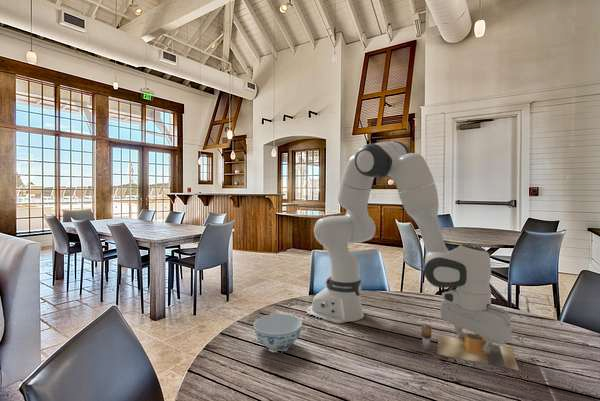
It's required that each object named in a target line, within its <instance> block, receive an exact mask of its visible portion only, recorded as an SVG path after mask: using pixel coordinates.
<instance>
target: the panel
mask: <svg viewBox="0 0 600 401" xmlns="http://www.w3.org/2000/svg"><path fill="white" fill-rule="evenodd" d="M437 340H438V341H437V348H436V355H440V356H446V357H449V358H450V357H451V358H456V359H460V360H465V361H471V362H477V363H481V364H484V365H485V364H486V365H491V366H495V367H499V368H506V369H511V370H517V371H520V369H519V366H518V363H517V360H516V358H515V354H514V352H513V349H512V347H507V346H502V345H496V344H491V349H490V354H480V353H468V352H467V350H466V349H465V348H464V346H463V342H462V341H459V340H458V337H456V338H455V337H452V336H451V337H450V336H446V335H445V336H444V335H441V334H440V335H438V339H437Z"/></svg>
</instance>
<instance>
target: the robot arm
mask: <svg viewBox="0 0 600 401" xmlns="http://www.w3.org/2000/svg"><path fill="white" fill-rule="evenodd" d="M387 176H389V177H391V178H392V179H393V181H394V182H395V186H396V189H397V192H398V197H399V200H400V201H401V204H402V206H403V208H404V210H405V212H406V214H407V215H408V216H409V217H410V218H411V219H413V220H414V222H415V223H416V225H417V226H418V228H419V233H420V236H421V240H422V242H423V245H424V249H425V253H424V254H425V256H424V261H423V263H424V266H423V268H424V269H423V270H424V272H423V273H424V276H425V278H426V281H428V283H429V284H431V285H432V286H434V287H436V288H442V289H444V288H445V289H446V288H447V289H448V288H456V289H452V290H448V291H444V292H442V293H441V298H442V301H441V303H440V317H441V319H442V321H444V322H446V323H448V324H451V325H454V330H455V332H456V334H457V339H458V340H459V341H462V342H463V338H464V331H463V330H465V331H468V332H471V333H472V334H478V335H481V336H483V337H485V341H487V342H486V343H484V344H482V345H481V350H482V351H484V352H486V353H487V352H489V351H490V345H493V342H496V343H498V344H500V345H505V344H508V343H510V342H511V341H512V340H513V339H512V338H513V337H512V336H513V334H512V333H513V332H512V327H511V326H512V325H511V321H512V320H511V318H512V317H511V314H509V312H508V311H507V310H506V309H505V308H502V307H497V306H495V305H492V288H491V285H490V282H491V279H492V264H491V263H492V262H491V256H490V253H489V252H488V251H487V250H486V249H485V248H484V247H481V246H479V245H475V244H470V243H462V244H460V245H458V246H457V247H455V248H453V249H449V248H448V247H447V245H446V243H445V241H444V238H443V233H442V231H441V228H440V223H439V219H438V218H439V215H438V214H439V204H440V203H439V194H438V190H437V189H438V188H437V186H436V183H435V180H434V177H433V174H432V172H431V169H430V167H429V166H428V163H427V161H426V160H425V158H424V157H423V156H422V155H421V154H420V153H416V152H415V153H414V152H411V150H410V148H409V147H408V146H407V145H406V144H405V143H403V142H400V141H396V140H395V141H387V140H386V141H381V142H375V143H368V144H365V145H363V146H361V147H359V149H358V150H357V151H356V154H353V155H351V156H350V157H349V158H348V161H347V163H346V166H345V168H344V172H343V174H342V178H341V182H340V186H339V191H338V195H337V201H338V204H339V205H340V206H341V207H342V208H343V209H345V210H346V211H345V212H346V213H345V214H344V215H330V216H326V217H321V218H319V219H317V220H316V222H315V224H314V226H313V234H314V238H315V240H316V241H317V242H318V243H319V244H320V245H322V247H323V248H325V250H326V253H327V254H328V257H329V260H330V276H329V277H328V278H327V279H326V281H325V283H324V284H325V285H326V287H324V288H323V289H322V290H320V291H319V292H318V293H316V295H315V296H314V297H313V300H312V304H311V305H309V306H308V307H307V309H306V312H307V313H306V315H307V314H309V315H308V316H310V315H313V316H315V317H314V318H317V317H318V319H320V318H322V319H321V320H325V321H329V322H332V323H334V324H344V323H347V322H348V323H349V322H355V321H359V320H361V319H363V318H364V317H365V314H364V310H363V305H362V299H361V293H362V279H361V276H360V274H361V273H360V271H361V270H360V265H361V264H360V263H361V262H360V260H359V257H358V256H357V255H356V254H354V253H352V252H350V250H349V248H348V246H349V245H348V244H359V243H364V242H367V241H369V240H372V239H373V237H374V236H375V235H376V229H377V228H376V224H375V222H374V220H373V218H372V217H371V216H370V214H369V211H368V204H369V199H370V194H371V190H372V186H373V182H374V180H375V178H385V177H387ZM313 316H312V317H313Z"/></svg>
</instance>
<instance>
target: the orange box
mask: <svg viewBox="0 0 600 401" xmlns="http://www.w3.org/2000/svg"><path fill="white" fill-rule="evenodd" d="M463 334H464V338H463V346H464V348H465V349H466V350H467V352H468V353H480V354H490V351H489V352H487V353H486V352H484V351H482V350H481V345H482V344H484V343H486V342H487V341H485V337H483V336H481V335H478V334H476V333H464V332H463ZM491 345H492V344H491ZM491 345H490V349H491Z"/></svg>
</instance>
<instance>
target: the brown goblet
mask: <svg viewBox="0 0 600 401" xmlns="http://www.w3.org/2000/svg"><path fill="white" fill-rule="evenodd" d="M420 330H421V337H422V342H421V343H422V350H423V351H431V338H432V326H431V325H430V324H426V323H424V324H421V329H420Z"/></svg>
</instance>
